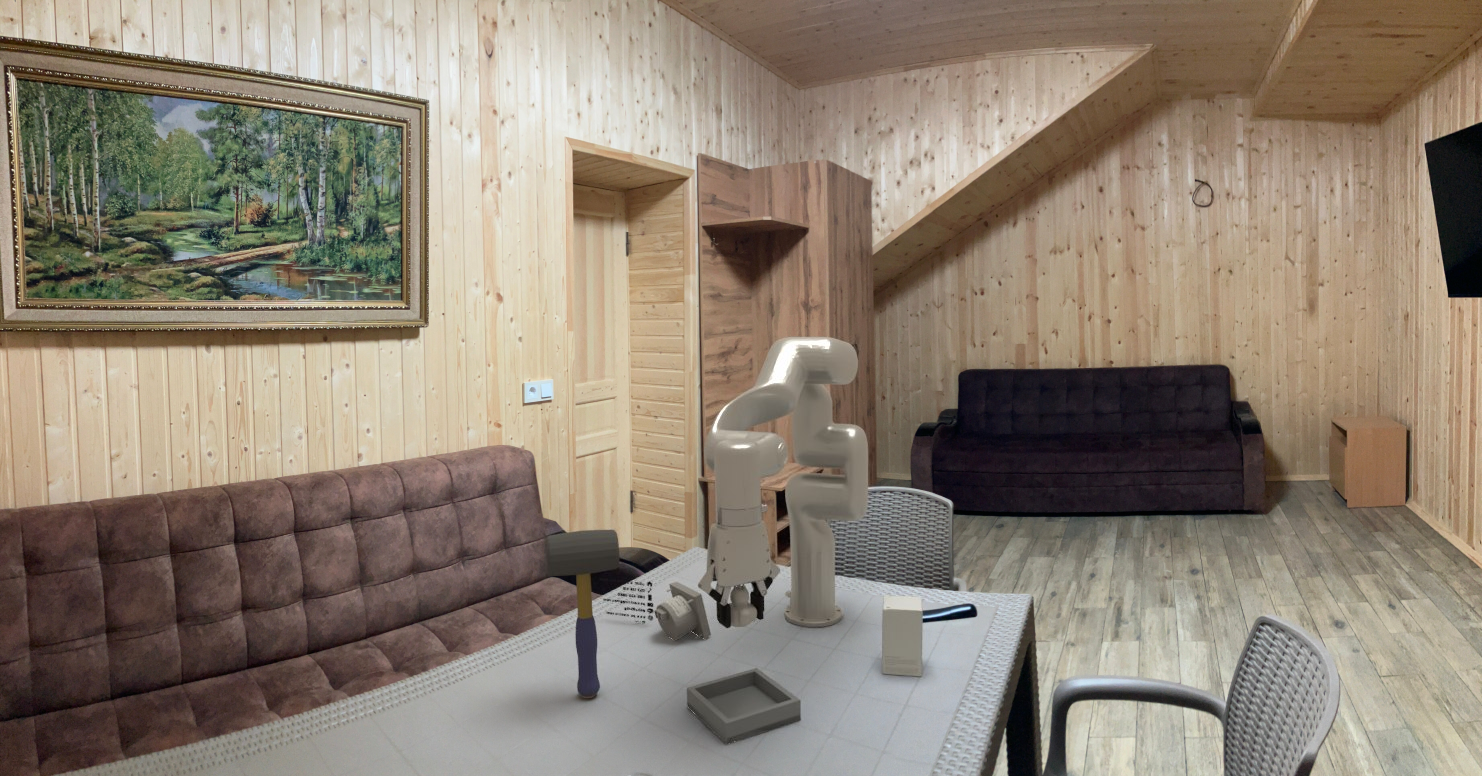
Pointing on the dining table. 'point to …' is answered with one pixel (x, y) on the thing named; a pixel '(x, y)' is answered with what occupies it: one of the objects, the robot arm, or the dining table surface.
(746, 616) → the beige rounded piece
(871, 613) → the dining table surface
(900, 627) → the supplement box
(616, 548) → the rubber mallet
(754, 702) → the tray
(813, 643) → the dining table surface
